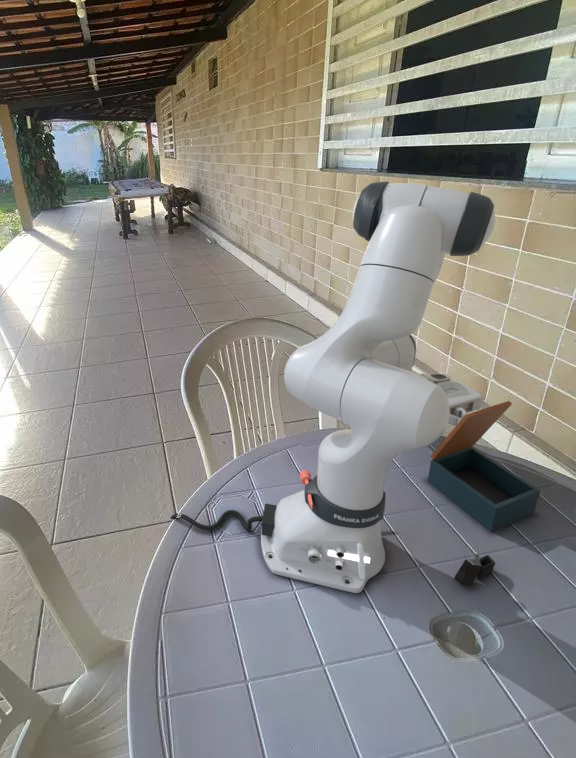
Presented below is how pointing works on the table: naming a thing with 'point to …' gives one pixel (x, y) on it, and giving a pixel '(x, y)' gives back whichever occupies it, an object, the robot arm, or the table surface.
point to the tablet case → (474, 501)
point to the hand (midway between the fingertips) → (469, 424)
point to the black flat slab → (482, 486)
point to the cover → (470, 429)
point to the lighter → (474, 569)
